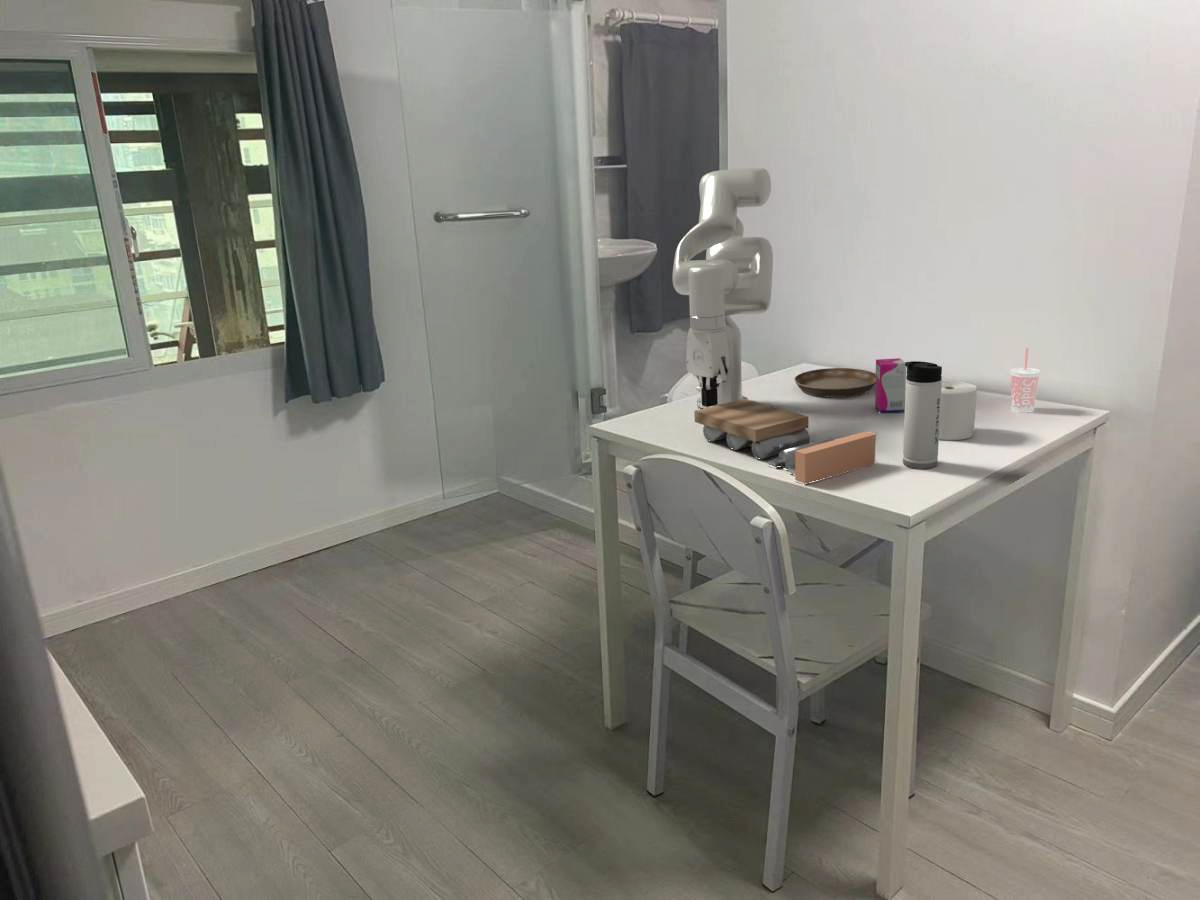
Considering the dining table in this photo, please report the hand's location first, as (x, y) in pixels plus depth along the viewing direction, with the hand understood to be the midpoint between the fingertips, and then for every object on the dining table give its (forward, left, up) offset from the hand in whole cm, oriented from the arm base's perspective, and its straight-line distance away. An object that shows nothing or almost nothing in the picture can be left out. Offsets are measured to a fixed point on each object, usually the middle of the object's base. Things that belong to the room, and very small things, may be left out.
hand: (709, 405), depth 204 cm
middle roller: (+15, 0, -6) cm, 16 cm away
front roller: (+23, 0, -6) cm, 24 cm away
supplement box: (+15, +40, -6) cm, 43 cm away
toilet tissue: (+35, +34, -6) cm, 49 cm away
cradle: (+31, 0, -6) cm, 32 cm away
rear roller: (+7, 0, -5) cm, 9 cm away
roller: (+31, 0, -6) cm, 31 cm away
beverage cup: (+35, +60, -6) cm, 70 cm away
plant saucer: (-7, +45, -6) cm, 46 cm away
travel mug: (+45, +15, -6) cm, 48 cm away
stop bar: (+38, 0, -6) cm, 39 cm away
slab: (+13, 0, -2) cm, 14 cm away
